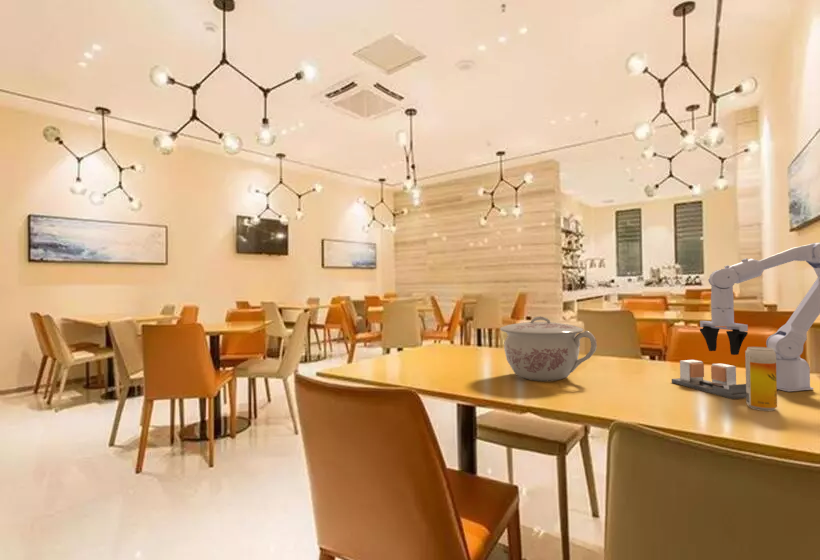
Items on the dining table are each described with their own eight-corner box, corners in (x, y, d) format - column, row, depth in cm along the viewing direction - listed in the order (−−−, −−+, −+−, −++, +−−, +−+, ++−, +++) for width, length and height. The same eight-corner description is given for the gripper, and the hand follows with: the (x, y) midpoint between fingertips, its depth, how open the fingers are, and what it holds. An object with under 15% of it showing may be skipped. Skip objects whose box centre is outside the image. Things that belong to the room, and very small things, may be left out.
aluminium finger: (721, 382, 141) (720, 363, 141) (736, 386, 137) (735, 366, 137) (710, 383, 140) (709, 364, 140) (724, 387, 136) (724, 367, 136)
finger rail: (671, 382, 142) (671, 359, 142) (692, 381, 144) (692, 358, 144) (733, 399, 121) (732, 372, 122) (757, 397, 123) (756, 370, 123)
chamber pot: (486, 372, 162) (485, 315, 163) (552, 367, 171) (551, 312, 171) (529, 390, 136) (528, 321, 136) (604, 382, 144) (603, 317, 144)
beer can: (782, 412, 109) (781, 350, 110) (754, 411, 111) (753, 349, 111) (768, 405, 115) (767, 346, 115) (741, 404, 117) (740, 346, 117)
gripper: (691, 307, 145) (692, 349, 145) (733, 310, 131) (734, 357, 131) (709, 307, 146) (710, 348, 146) (753, 309, 132) (754, 355, 132)
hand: (723, 352), depth 139 cm, fingers open, 7 cm apart
